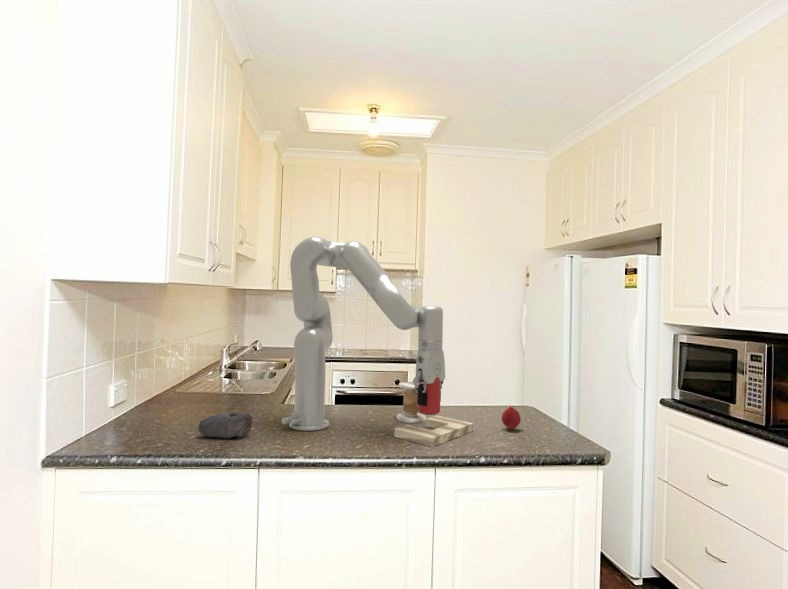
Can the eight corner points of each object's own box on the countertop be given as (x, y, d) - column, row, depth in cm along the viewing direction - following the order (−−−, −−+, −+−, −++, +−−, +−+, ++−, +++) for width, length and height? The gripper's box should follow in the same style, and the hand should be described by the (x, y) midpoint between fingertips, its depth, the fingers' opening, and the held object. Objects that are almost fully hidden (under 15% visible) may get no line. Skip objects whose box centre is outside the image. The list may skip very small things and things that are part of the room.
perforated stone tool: (194, 439, 137) (195, 415, 137) (201, 434, 142) (202, 410, 142) (247, 440, 137) (248, 416, 137) (252, 435, 142) (253, 411, 142)
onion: (521, 429, 156) (522, 404, 156) (518, 433, 151) (518, 408, 151) (503, 426, 158) (504, 402, 158) (499, 430, 153) (500, 405, 153)
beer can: (440, 410, 153) (440, 372, 153) (440, 415, 146) (440, 376, 146) (419, 410, 153) (419, 372, 153) (418, 415, 147) (418, 375, 147)
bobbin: (414, 424, 158) (415, 388, 158) (390, 419, 165) (391, 383, 165) (431, 419, 166) (432, 384, 166) (408, 414, 172) (409, 380, 172)
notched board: (432, 447, 135) (433, 438, 135) (394, 436, 144) (394, 428, 144) (473, 431, 152) (473, 423, 152) (436, 422, 161) (436, 415, 161)
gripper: (423, 348, 141) (422, 410, 141) (455, 344, 154) (454, 400, 154) (403, 346, 145) (402, 406, 145) (436, 343, 159) (435, 397, 159)
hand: (429, 402), depth 150 cm, fingers closed on beer can, 6 cm apart
